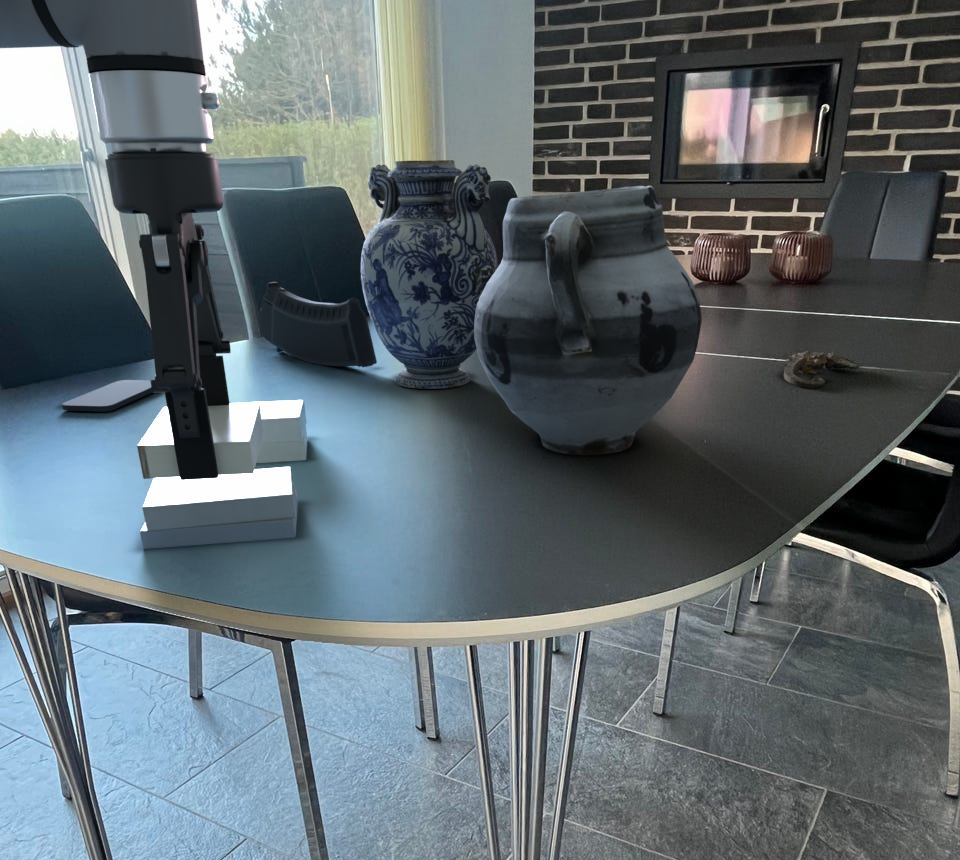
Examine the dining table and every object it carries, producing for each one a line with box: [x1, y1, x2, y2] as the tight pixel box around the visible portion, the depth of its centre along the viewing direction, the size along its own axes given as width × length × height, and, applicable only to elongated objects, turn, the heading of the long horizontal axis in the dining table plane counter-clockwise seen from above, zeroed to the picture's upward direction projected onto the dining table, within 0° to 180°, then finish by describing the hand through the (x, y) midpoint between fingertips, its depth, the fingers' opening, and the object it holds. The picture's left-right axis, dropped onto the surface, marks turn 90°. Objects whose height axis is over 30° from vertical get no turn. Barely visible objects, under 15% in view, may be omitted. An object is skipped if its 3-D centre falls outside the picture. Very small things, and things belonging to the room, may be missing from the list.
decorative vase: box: [360, 159, 499, 390], centre depth 118 cm, size 21×19×28 cm
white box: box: [139, 466, 299, 550], centre depth 73 cm, size 12×8×4 cm
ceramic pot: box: [474, 185, 703, 456], centre depth 88 cm, size 29×23×25 cm
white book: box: [136, 404, 263, 480], centre depth 70 cm, size 8×12×2 cm
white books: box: [230, 399, 308, 464], centre depth 92 cm, size 12×8×5 cm
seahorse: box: [783, 348, 860, 389], centre depth 122 cm, size 9×16×3 cm, turn 132°
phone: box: [61, 379, 153, 413], centre depth 119 cm, size 7×1×15 cm
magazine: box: [259, 281, 378, 368], centre depth 138 cm, size 17×3×30 cm
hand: (209, 454), depth 70 cm, fingers closed on white book, 12 cm apart
